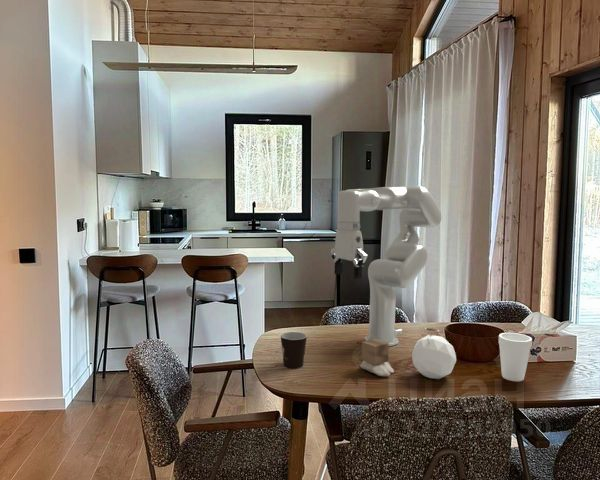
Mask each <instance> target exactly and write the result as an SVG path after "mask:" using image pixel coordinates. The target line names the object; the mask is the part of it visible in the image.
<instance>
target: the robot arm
mask: <svg viewBox="0 0 600 480" xmlns="http://www.w3.org/2000/svg"><path fill="white" fill-rule="evenodd" d="M399 209H401V210H400V212H399V218H398V219H399V220H398V221H399V233H398V234H397V236H396V237H395V238H394V239H393V241H392V242H391V244H390V245H389V246H388V248H387V249H386V251H385V253H384V258H385V259H384V258H383V259H381V258H379V259H374V260H373V261H372V262H370V264H369V266H368V269H367V276H368V281H369V293H370V294H369V296H370V297H369V325H368V327H369V330H368V334H367V335H366V336H365V338H364V341H367V340H372V339H378V340H381V341H384V342H387V343H389V347H394V346H396V345H398V344H399V339H398V337H397V336H398V335H401V334H402V333H403V332H404V331H403V329H402V328H397V329H396V328H395V326H396V325H395V324H396V323H395V322H396V302H397V301H396V299H397V298H396V293H395V290H394V288H398V289H406V288H409V287H410V286H412V284H413V283H414V282H415V280H416V278H417V277H418V275H420V273H421V272H422V270H423V268H424V267H425V265H426V263H427V259H428V251H427V249H426V247H425V246H424V245H422V244H421V243H420V237H419V234H418V233H417V230H416V227H417V228H429V229H431V228H436V227H438V226H439V225H440V223H441V221H442V212H441V210H440V207H439V205H438V204H437V202H436V200H435V199H434V197H433V195H432V194H431V192H430V191H429V190H428V189H427V188H426V187H424V186H382V187H372V188H371V187H370V188H354V189H353V188H352V189H349V188H348V189H346V190H340V191H339V192H338V194H337V230H336V234H335V241H334V247H332V248H331V249H330V250H329V251H330V255H331V258H332V261H333V263H334V275H341V274H343V260H344V261H351V262H353V265H354V267H353V279H355V280H357V279H362V274H363V267H364V265H365V263H366V262H367V261H366V260H368V259H367V258H368V254H367V253H366V252H365V251H364V241H363V240H364V239H363V235H362V230H360V229H361V221H360V220H361V212H372V211H373V212H374V211H376V210H377V211H390V210H399Z"/></svg>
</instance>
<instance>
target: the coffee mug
mask: <svg viewBox="0 0 600 480" xmlns="http://www.w3.org/2000/svg"><path fill="white" fill-rule="evenodd" d="M307 337H308V335H307V334H305V333H304V332H299V331H287V332H284V333H283V332H282V333H281V334H280V342H281V351H282V361H283V367H285V368H287V369H291V370H293V369H294V370H295V369H301V368H303V366H304V361H305V353H306V347H307V346H306V345H307Z"/></svg>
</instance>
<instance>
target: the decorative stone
mask: <svg viewBox="0 0 600 480" xmlns="http://www.w3.org/2000/svg"><path fill="white" fill-rule="evenodd" d="M360 368H361V369H363V370H366V371H368V372H369V373H371V374H375V375H376V376H379V377H389V376H390V375H391V374H393V373H395V370H394V368H393V367H392V366H391V364H390V362H389V361H388V362H384V363H381V364H377V365H373V364H371V363H368V362H366V361H363V360H362V363H361V362H360Z"/></svg>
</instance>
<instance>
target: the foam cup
mask: <svg viewBox="0 0 600 480" xmlns="http://www.w3.org/2000/svg"><path fill="white" fill-rule="evenodd" d="M497 342H498V345H499V354H500V355H499V356H500V368H501V376H502V378H503V379H505V380H507V381H511V382H522V381H524V379H525V375H526V372H527V367H528V362H529V356H530V354H531V353H530V352H531V348H532V347H533V346H532V344H533V337H531V336H528V335H526V334H524V333H520V332H518V333H517V332H502V333H499V335H498V341H497Z"/></svg>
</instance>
